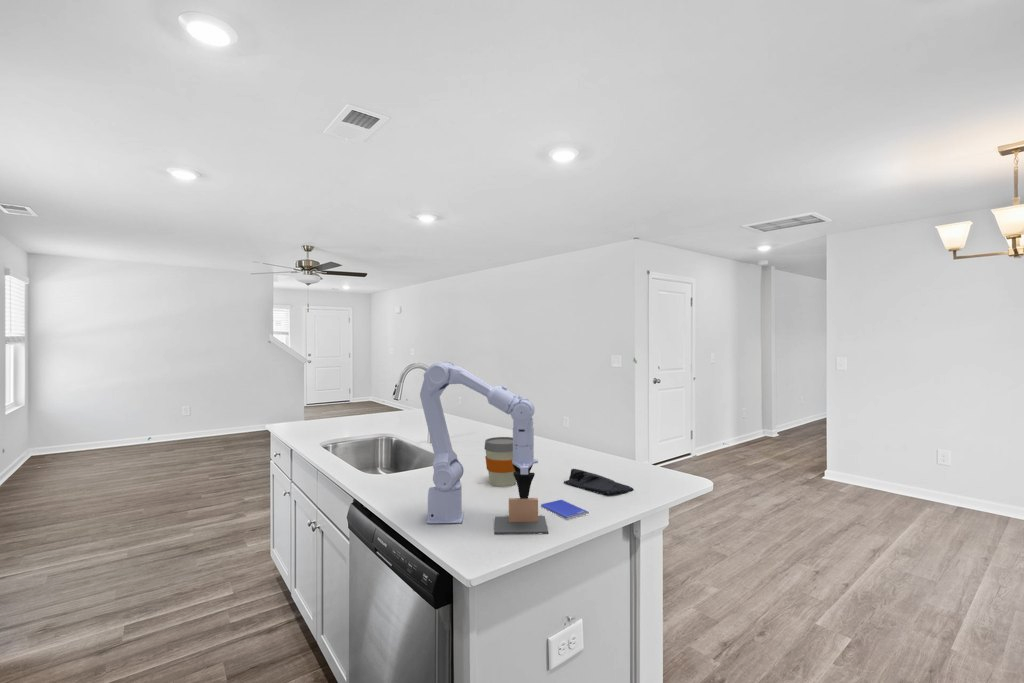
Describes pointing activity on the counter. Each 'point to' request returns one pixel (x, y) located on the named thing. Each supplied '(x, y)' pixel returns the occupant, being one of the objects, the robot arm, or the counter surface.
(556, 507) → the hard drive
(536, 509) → the tile
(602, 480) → the dark slate chunk
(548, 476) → the counter surface
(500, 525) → the mat
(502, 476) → the reusable coffee cup
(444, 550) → the counter surface
